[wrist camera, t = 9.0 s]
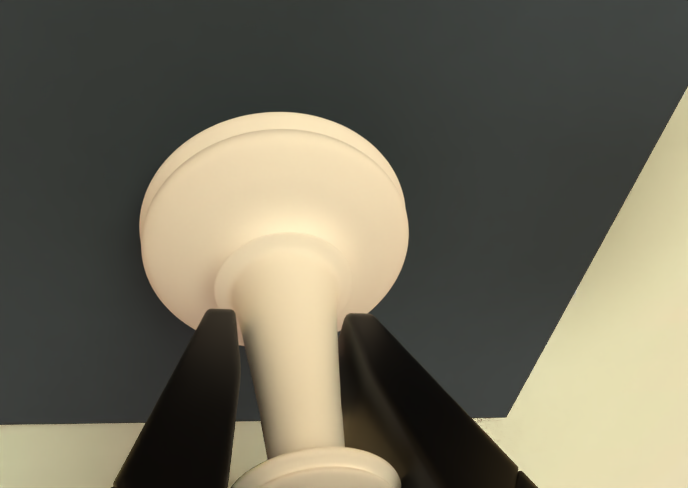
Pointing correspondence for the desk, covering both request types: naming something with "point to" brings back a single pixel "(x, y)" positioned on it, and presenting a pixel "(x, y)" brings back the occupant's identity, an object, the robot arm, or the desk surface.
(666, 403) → the desk surface
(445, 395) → the robot arm
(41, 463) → the desk surface
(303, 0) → the desk mat
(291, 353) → the chess piece
